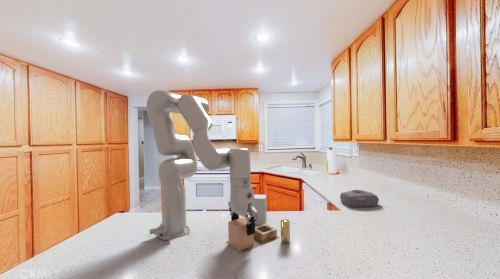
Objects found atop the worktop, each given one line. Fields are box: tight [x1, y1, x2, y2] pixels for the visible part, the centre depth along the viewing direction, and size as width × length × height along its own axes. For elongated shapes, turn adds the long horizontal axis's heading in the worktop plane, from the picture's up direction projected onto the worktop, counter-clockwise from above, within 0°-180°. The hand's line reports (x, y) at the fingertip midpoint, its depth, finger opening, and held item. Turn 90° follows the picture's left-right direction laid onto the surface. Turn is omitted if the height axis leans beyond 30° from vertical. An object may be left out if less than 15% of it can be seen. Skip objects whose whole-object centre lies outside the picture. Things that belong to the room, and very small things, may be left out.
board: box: [225, 223, 281, 254], centre depth 80 cm, size 18×10×7 cm, turn 127°
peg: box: [280, 218, 291, 245], centre depth 77 cm, size 3×3×9 cm
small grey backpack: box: [339, 189, 380, 209], centre depth 123 cm, size 15×8×20 cm
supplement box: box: [249, 194, 268, 225], centre depth 98 cm, size 7×7×13 cm
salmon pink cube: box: [227, 217, 254, 252], centre depth 77 cm, size 7×7×8 cm
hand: (242, 229), depth 76 cm, fingers open, 9 cm apart
